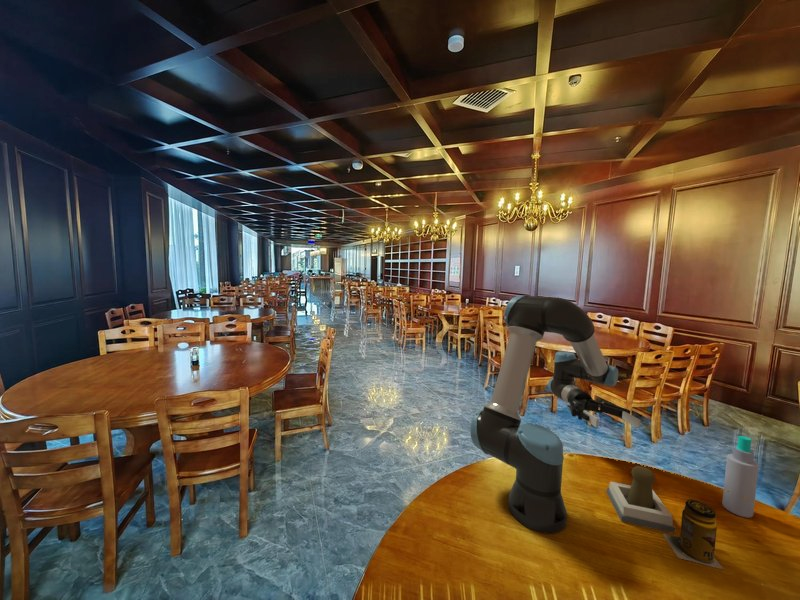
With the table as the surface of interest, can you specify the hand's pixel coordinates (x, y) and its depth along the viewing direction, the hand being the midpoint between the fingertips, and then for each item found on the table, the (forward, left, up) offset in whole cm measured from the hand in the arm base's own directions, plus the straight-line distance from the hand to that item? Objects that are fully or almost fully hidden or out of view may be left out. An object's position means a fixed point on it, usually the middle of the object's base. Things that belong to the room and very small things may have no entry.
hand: (618, 423), depth 96 cm
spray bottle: (+31, 0, -21) cm, 37 cm away
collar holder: (+3, -10, -21) cm, 23 cm away
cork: (+4, -9, -19) cm, 22 cm away
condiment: (+10, -21, -21) cm, 31 cm away
